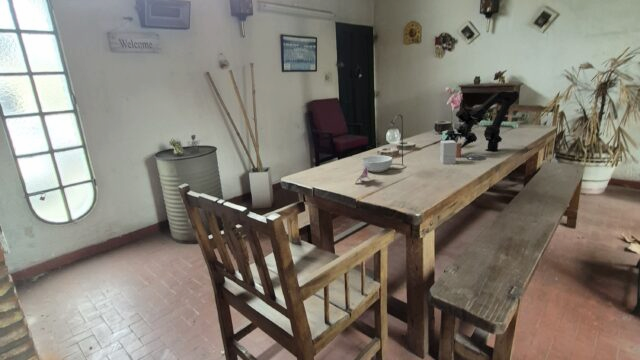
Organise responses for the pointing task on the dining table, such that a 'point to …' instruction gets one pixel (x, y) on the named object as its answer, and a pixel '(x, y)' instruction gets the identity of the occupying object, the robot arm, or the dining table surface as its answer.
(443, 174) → the dining table surface
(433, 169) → the dining table surface
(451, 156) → the supplement box
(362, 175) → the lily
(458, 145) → the upright salmon prism
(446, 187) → the dining table surface
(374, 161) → the cereal bowl
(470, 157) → the charcoal dinner plate
